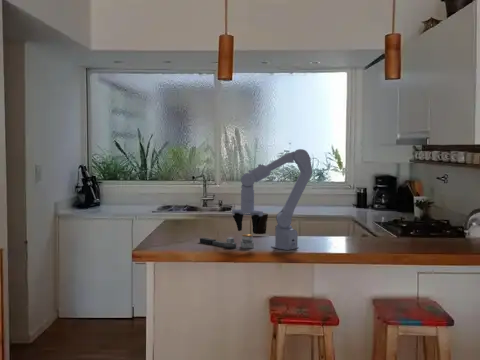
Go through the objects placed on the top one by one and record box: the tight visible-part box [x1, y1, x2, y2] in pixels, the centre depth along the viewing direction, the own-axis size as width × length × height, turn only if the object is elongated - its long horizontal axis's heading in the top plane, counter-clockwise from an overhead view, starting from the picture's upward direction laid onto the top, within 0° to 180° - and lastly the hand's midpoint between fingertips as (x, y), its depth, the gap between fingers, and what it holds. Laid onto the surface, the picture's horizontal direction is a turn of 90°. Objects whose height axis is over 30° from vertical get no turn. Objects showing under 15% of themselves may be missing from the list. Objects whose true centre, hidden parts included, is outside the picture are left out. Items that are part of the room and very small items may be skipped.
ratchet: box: [199, 237, 237, 250], centre depth 246 cm, size 22×5×4 cm, turn 45°
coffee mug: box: [250, 212, 269, 235], centre depth 283 cm, size 12×9×10 cm
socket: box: [240, 233, 255, 249], centre depth 241 cm, size 5×5×6 cm
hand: (247, 231), depth 241 cm, fingers open, 7 cm apart
